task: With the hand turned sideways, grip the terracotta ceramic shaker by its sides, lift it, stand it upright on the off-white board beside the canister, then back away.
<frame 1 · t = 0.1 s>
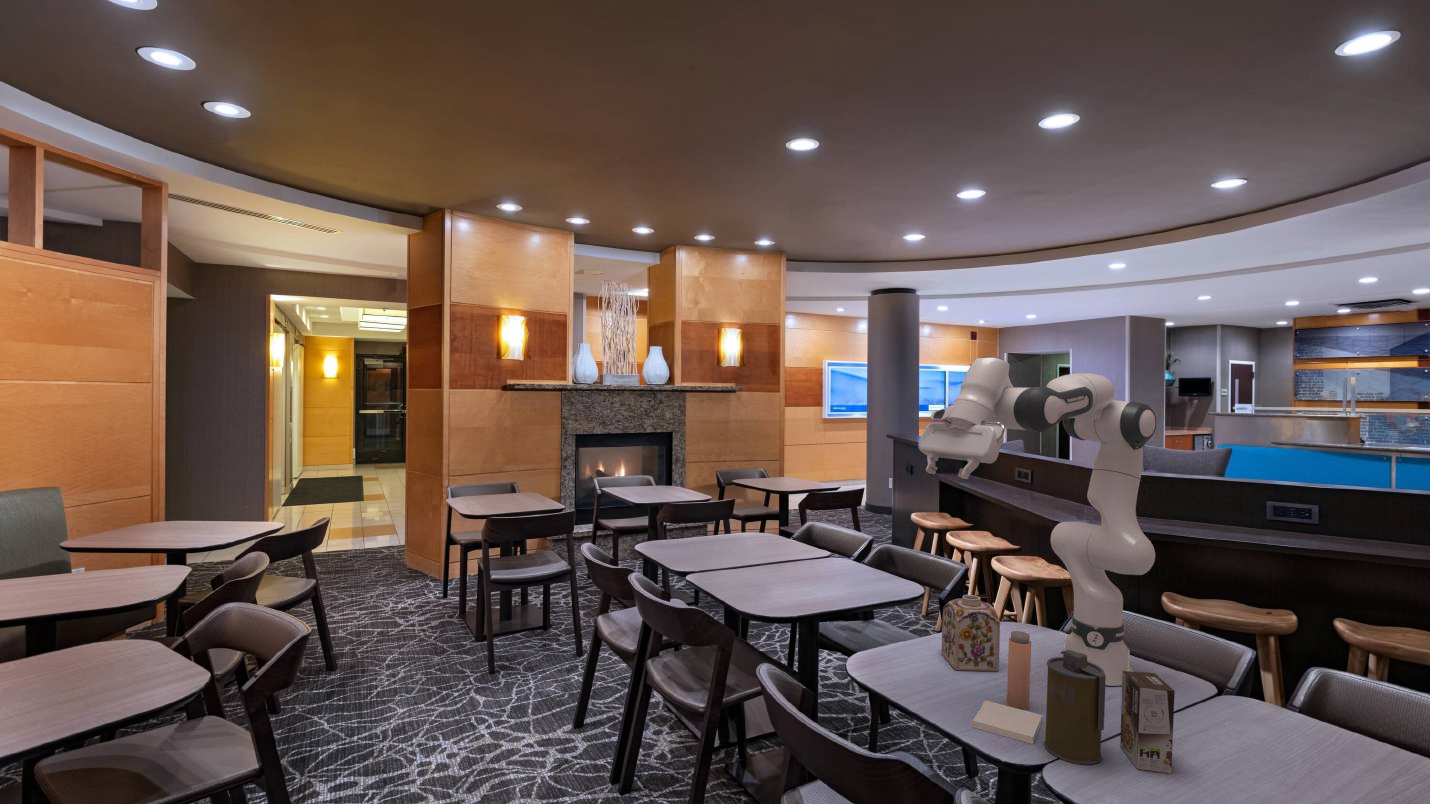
hand: (945, 475, 152), 54 cm above the table, tool tilted 30°, fingers open, 8 cm apart
coffee box: (1145, 760, 137), on the table
canister: (1073, 752, 139), on the table
shaker: (1017, 704, 160), on the table
decorative jar: (969, 663, 184), on the table
board: (1007, 724, 150), on the table
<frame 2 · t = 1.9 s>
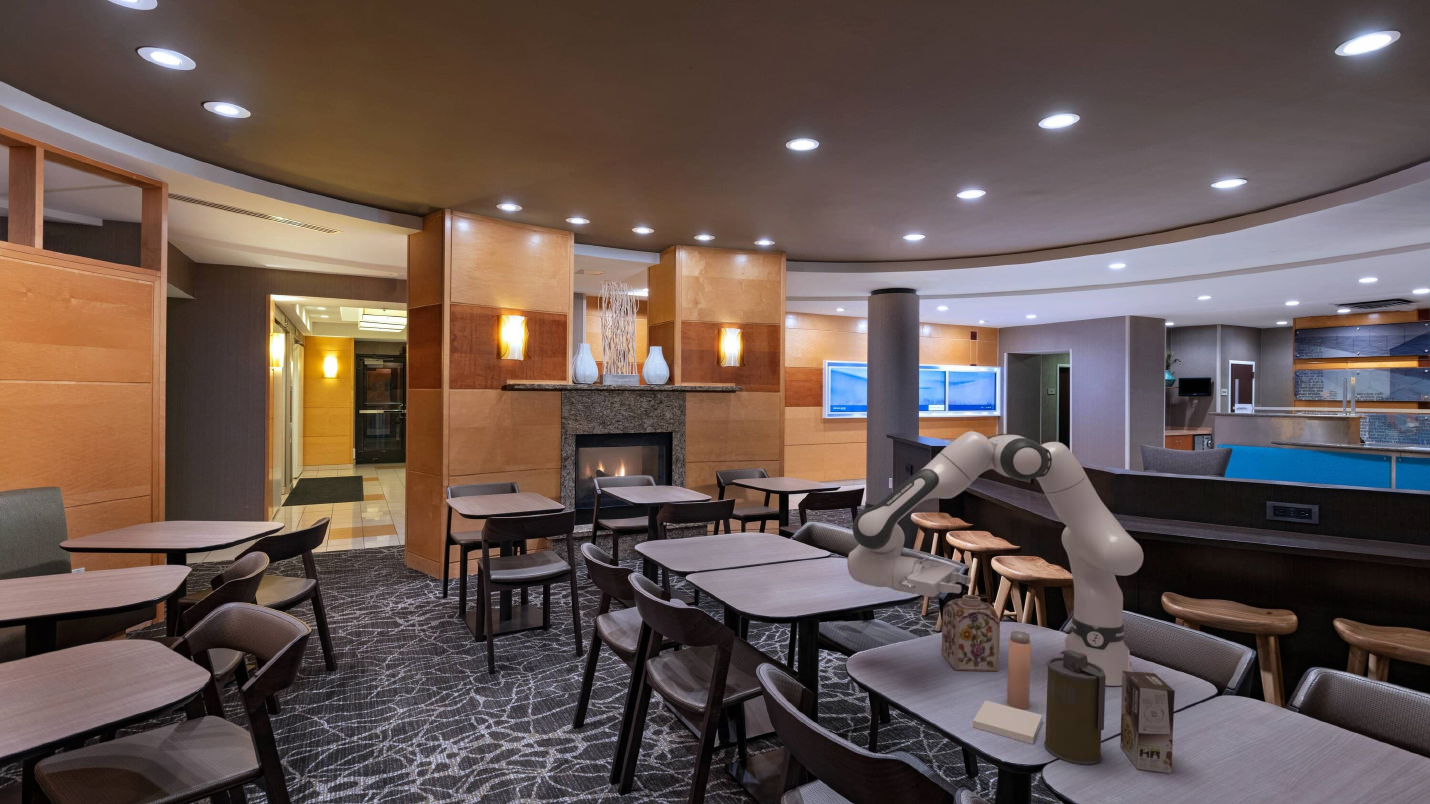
hand: (965, 584, 167), 26 cm above the table, tool horizontal, fingers open, 8 cm apart
nothing on the table moved.
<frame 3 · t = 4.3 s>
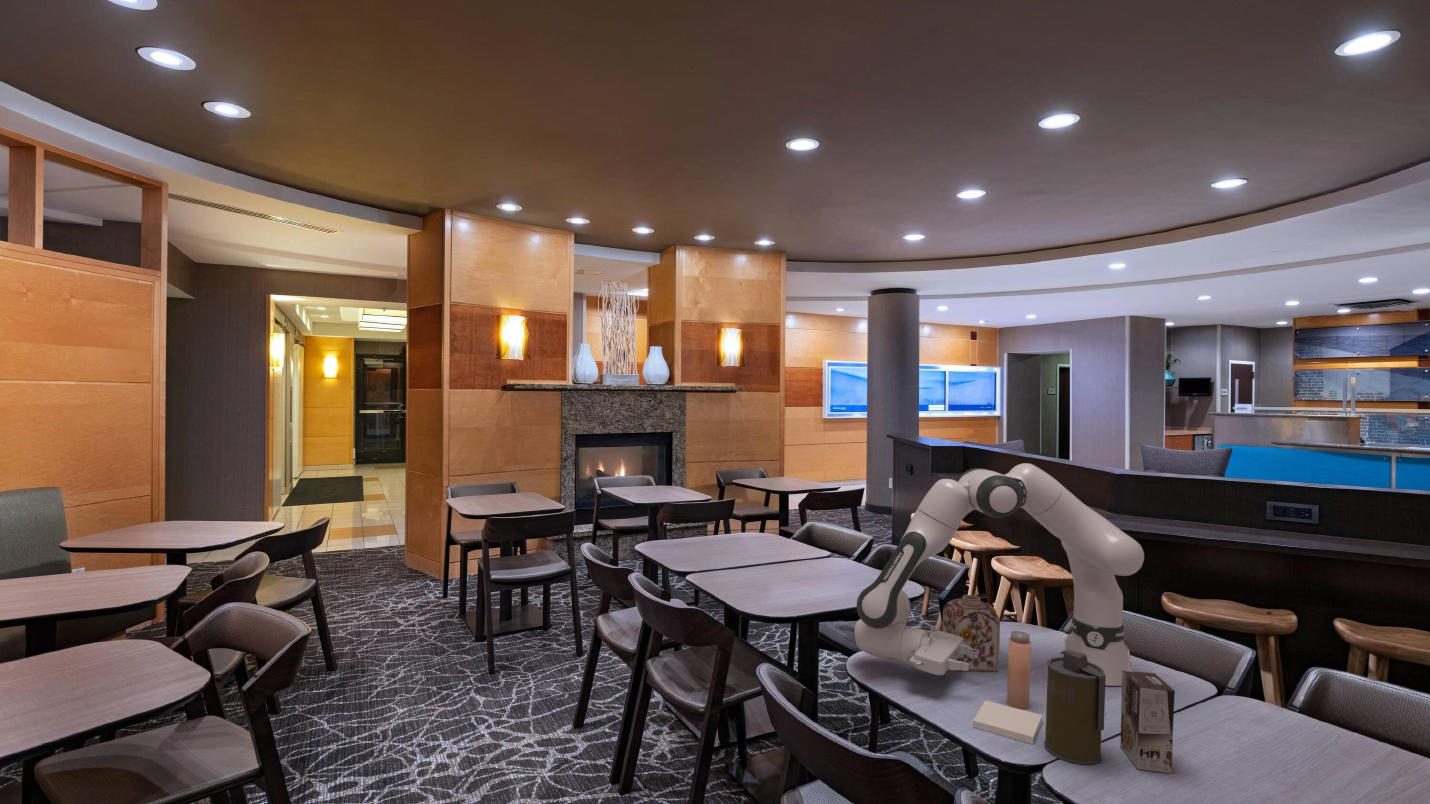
hand: (973, 660, 166), 8 cm above the table, tool horizontal, fingers open, 8 cm apart
nothing on the table moved.
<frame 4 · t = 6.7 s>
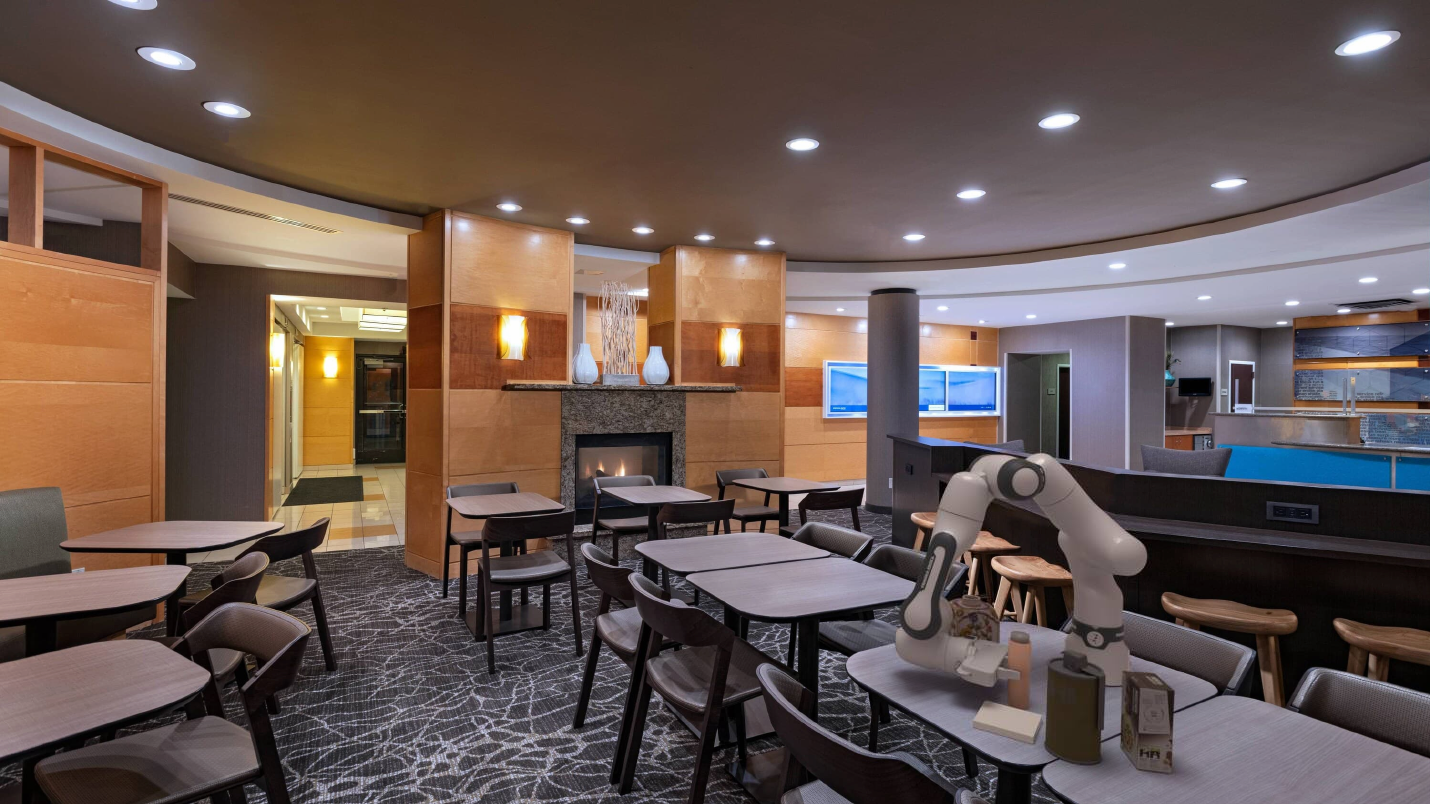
hand: (1023, 671, 159), 8 cm above the table, tool horizontal, fingers closed on shaker, 5 cm apart
shaker: (1017, 704, 160), on the table, touching gripper
everything else where it was.
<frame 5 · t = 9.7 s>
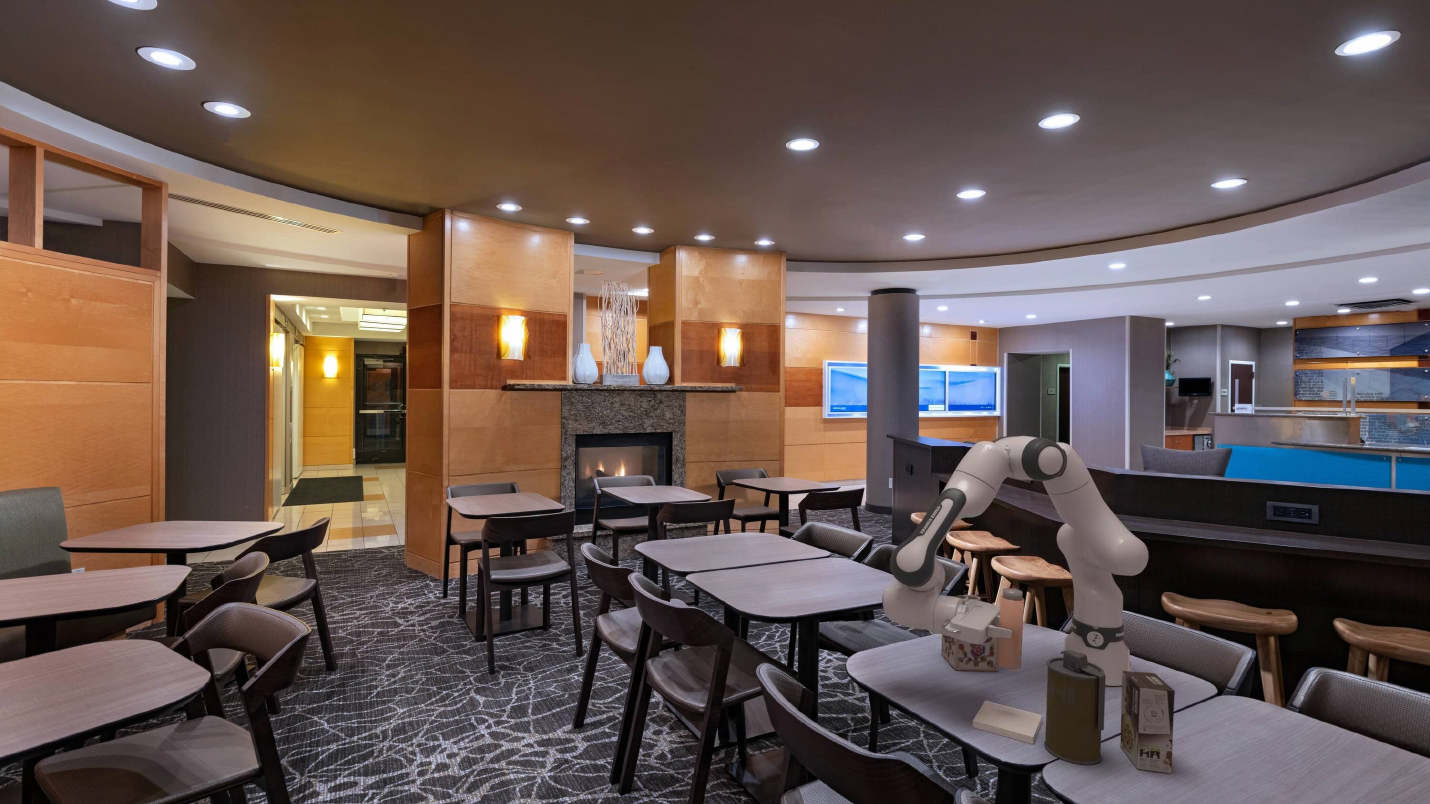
hand: (1015, 630, 151), 20 cm above the table, tool horizontal, fingers closed on shaker, 5 cm apart
shaker: (1009, 664, 152), point 12 cm above the table, touching gripper
everything else where it was.
when the fingers open (10 cm above the table, at t = 12.7 s): shaker stays where it is, resting on board.
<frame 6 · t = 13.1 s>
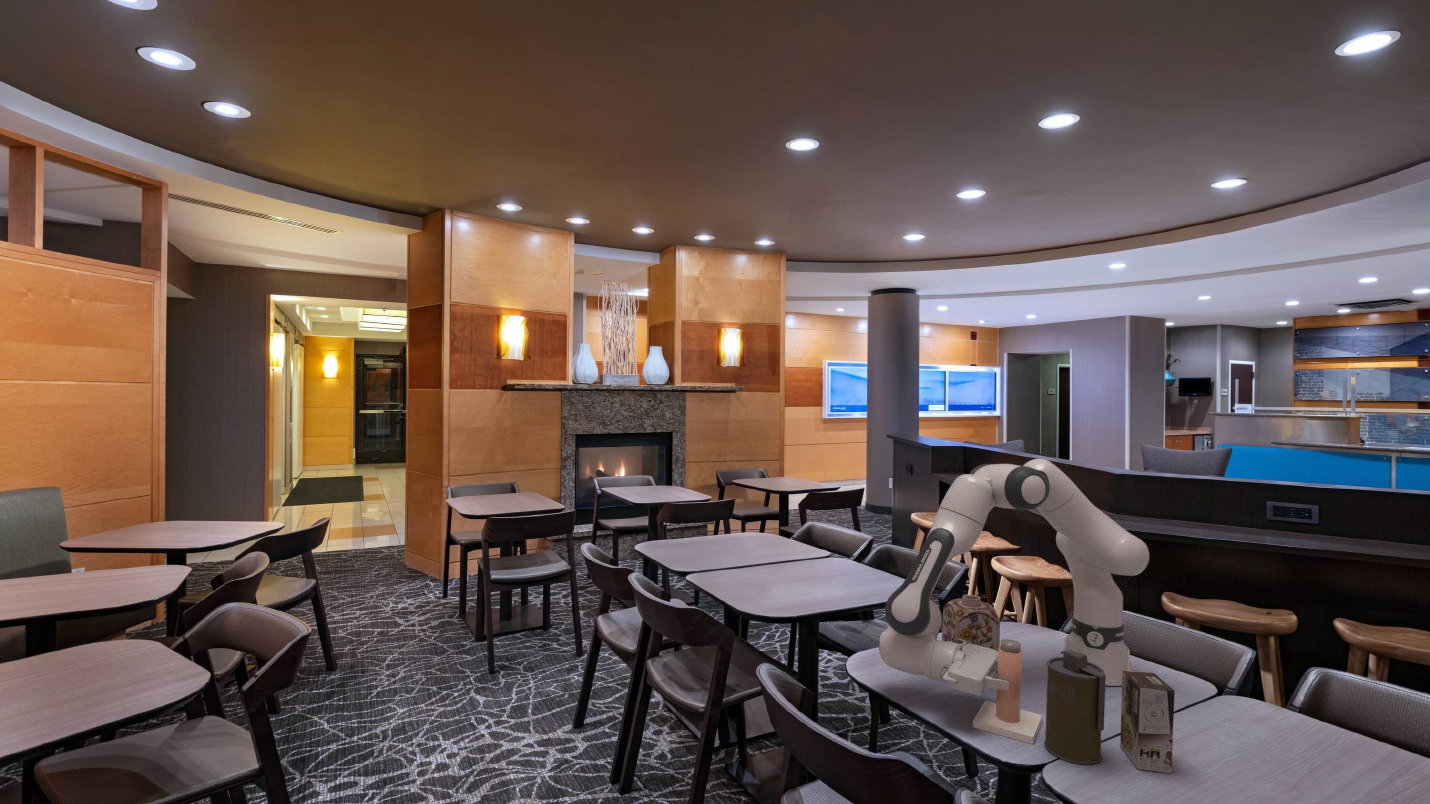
hand: (1013, 678, 149), 10 cm above the table, tool horizontal, fingers open, 8 cm apart
shaker: (1007, 717, 150), point 2 cm above the table, touching board
everything else where it was.
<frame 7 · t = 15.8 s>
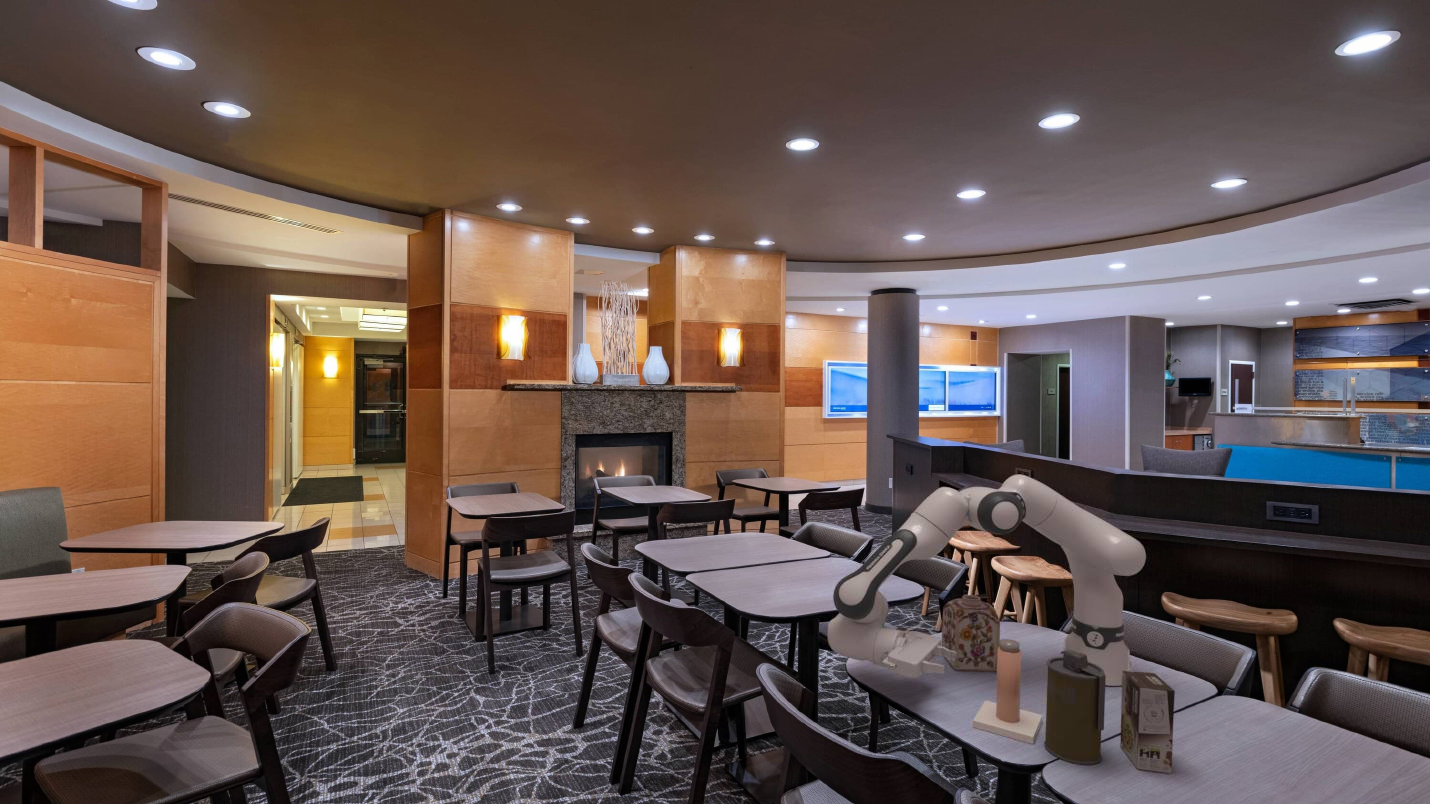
hand: (950, 662, 157), 11 cm above the table, tool horizontal, fingers open, 8 cm apart
nothing on the table moved.
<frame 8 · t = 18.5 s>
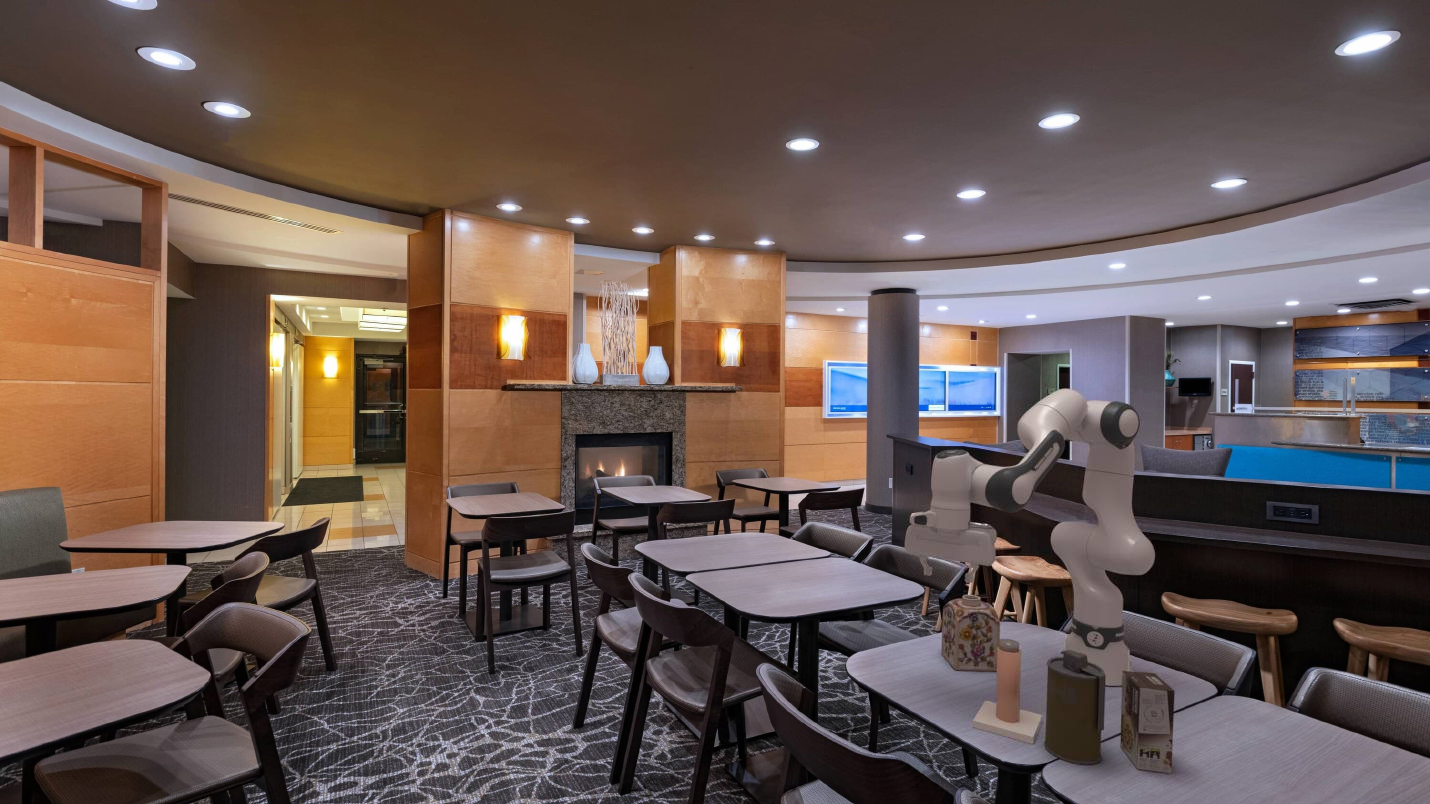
hand: (948, 578, 160), 29 cm above the table, tool pointing down, fingers open, 8 cm apart
nothing on the table moved.
at the end: shaker inside the target area on the board (0.0 cm from its centre), point 1.5 cm above the board's base; shaker tilted 1°; the gripper is holding nothing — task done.
